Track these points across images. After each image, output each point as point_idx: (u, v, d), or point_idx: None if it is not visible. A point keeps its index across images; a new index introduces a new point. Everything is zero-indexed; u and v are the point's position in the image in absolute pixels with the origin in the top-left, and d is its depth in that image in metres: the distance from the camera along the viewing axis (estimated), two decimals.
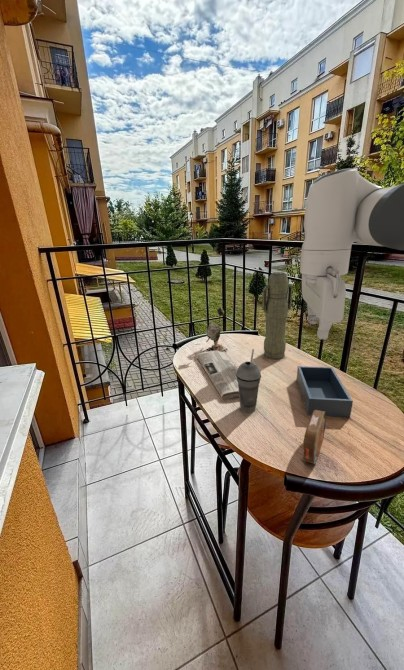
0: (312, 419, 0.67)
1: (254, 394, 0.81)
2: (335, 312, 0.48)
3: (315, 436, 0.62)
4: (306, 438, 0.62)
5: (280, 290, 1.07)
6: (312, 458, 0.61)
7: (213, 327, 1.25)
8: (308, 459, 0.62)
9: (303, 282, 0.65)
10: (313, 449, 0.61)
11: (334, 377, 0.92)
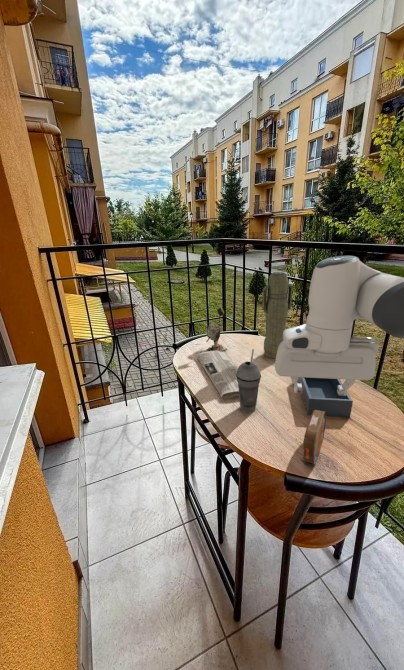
0: (312, 419, 0.67)
1: (254, 394, 0.81)
2: None
3: (315, 436, 0.62)
4: (306, 438, 0.62)
5: (280, 290, 1.07)
6: (312, 458, 0.61)
7: (213, 327, 1.25)
8: (308, 459, 0.62)
9: (285, 360, 0.60)
10: (313, 449, 0.61)
11: None
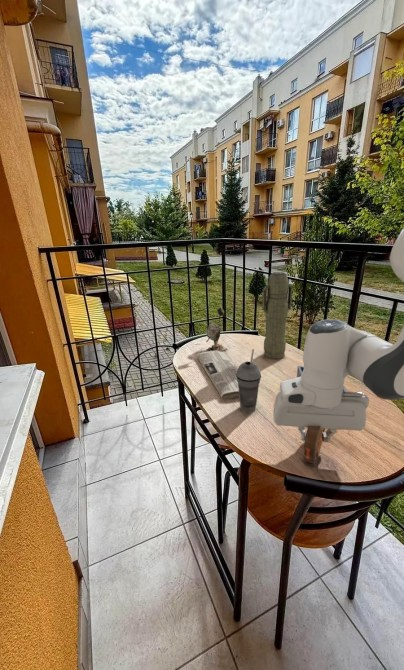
0: None
1: (254, 394, 0.81)
2: None
3: (316, 436, 0.62)
4: (307, 438, 0.62)
5: (280, 290, 1.07)
6: (312, 458, 0.61)
7: (213, 327, 1.25)
8: (308, 459, 0.62)
9: (282, 412, 0.65)
10: (314, 449, 0.61)
11: None
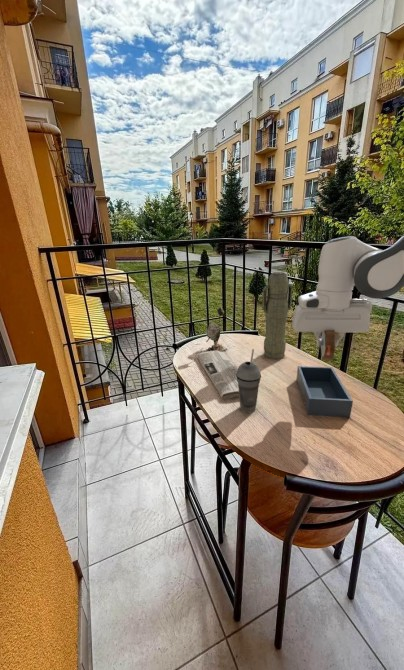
0: None
1: (254, 394, 0.81)
2: None
3: (334, 335, 0.75)
4: (327, 338, 0.75)
5: (280, 290, 1.07)
6: (332, 353, 0.75)
7: (213, 327, 1.25)
8: (328, 355, 0.75)
9: (300, 318, 0.78)
10: (334, 345, 0.74)
11: (334, 377, 0.92)
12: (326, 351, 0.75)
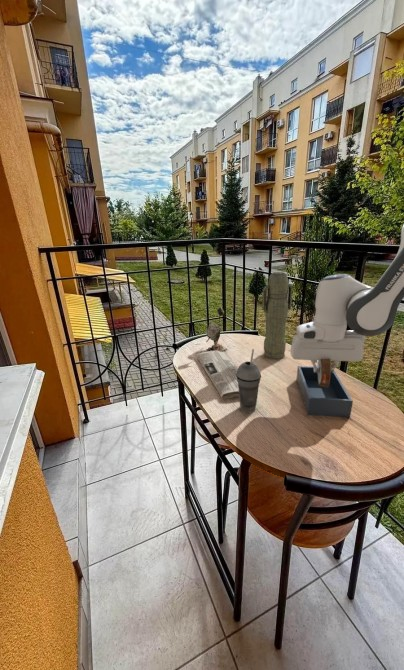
0: None
1: (254, 394, 0.81)
2: None
3: (330, 365, 0.80)
4: (323, 367, 0.81)
5: (280, 290, 1.07)
6: (328, 381, 0.80)
7: (213, 327, 1.25)
8: (324, 383, 0.81)
9: (298, 347, 0.83)
10: (329, 374, 0.79)
11: (334, 377, 0.92)
12: (322, 379, 0.80)
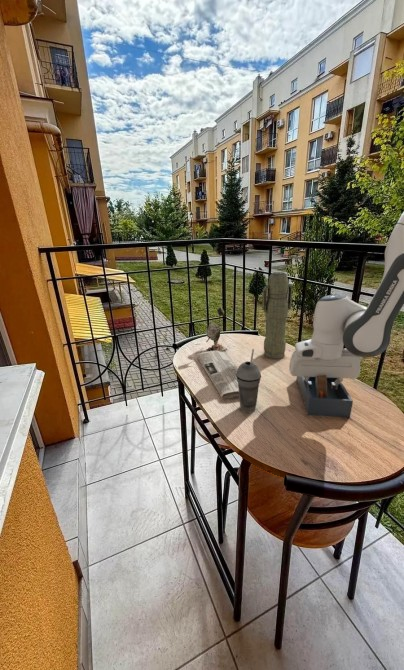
0: None
1: (254, 394, 0.81)
2: None
3: (325, 381, 0.82)
4: (319, 384, 0.83)
5: (280, 290, 1.07)
6: None
7: (213, 327, 1.25)
8: None
9: (297, 365, 0.86)
10: (326, 391, 0.81)
11: None
12: (319, 396, 0.82)
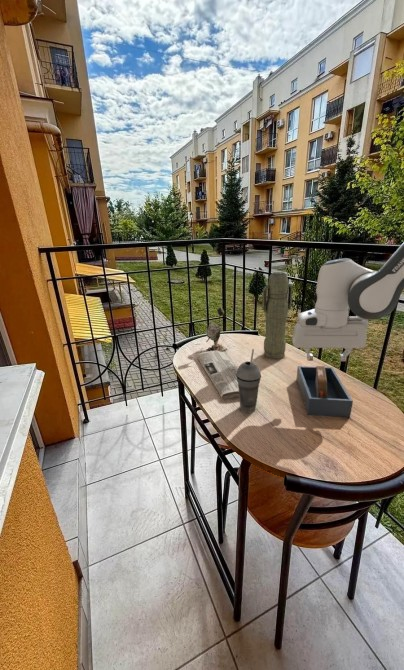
0: (318, 371, 0.88)
1: (254, 394, 0.81)
2: None
3: (325, 381, 0.82)
4: (319, 384, 0.83)
5: (280, 290, 1.07)
6: None
7: (213, 327, 1.25)
8: None
9: (300, 335, 0.82)
10: (326, 391, 0.81)
11: (334, 377, 0.92)
12: (319, 396, 0.82)
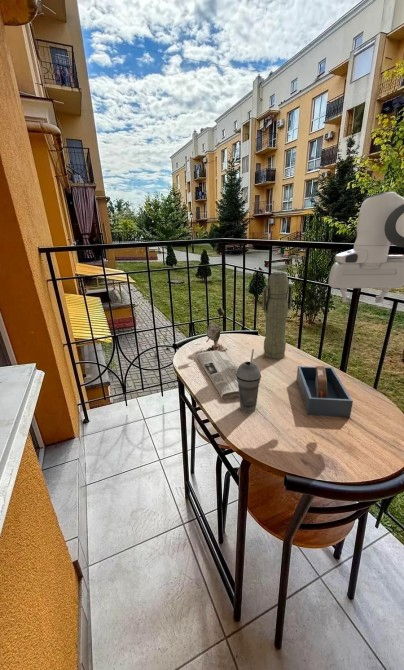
0: (318, 371, 0.88)
1: (254, 394, 0.81)
2: None
3: (325, 381, 0.82)
4: (319, 384, 0.83)
5: (280, 290, 1.07)
6: None
7: (213, 327, 1.25)
8: None
9: (338, 274, 0.82)
10: (326, 391, 0.81)
11: (334, 377, 0.92)
12: (319, 396, 0.82)
